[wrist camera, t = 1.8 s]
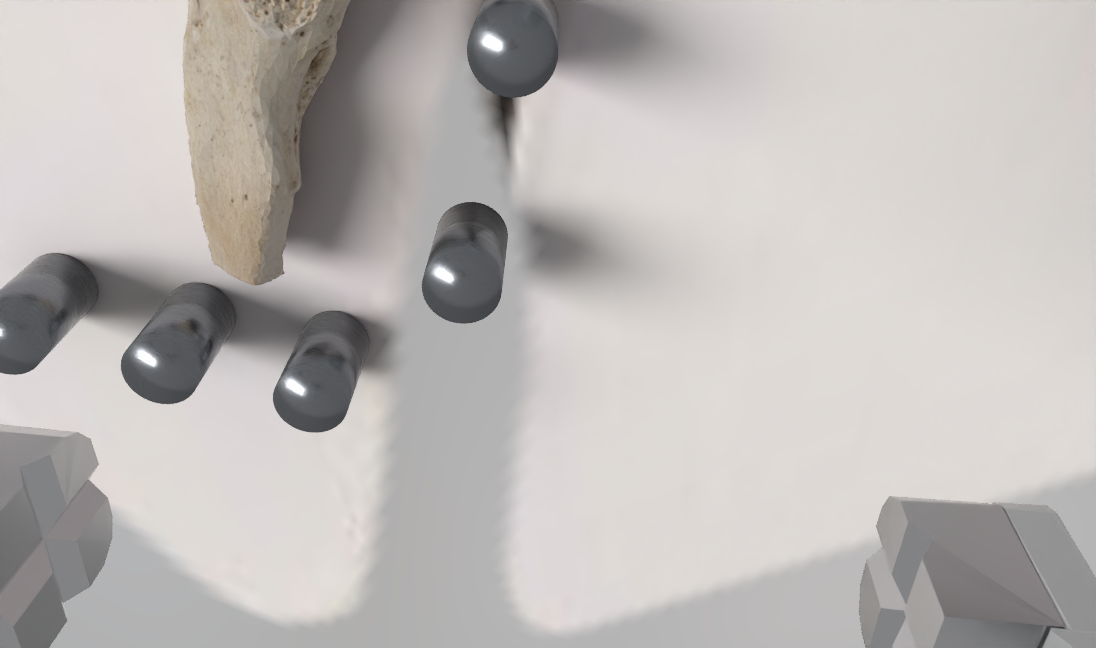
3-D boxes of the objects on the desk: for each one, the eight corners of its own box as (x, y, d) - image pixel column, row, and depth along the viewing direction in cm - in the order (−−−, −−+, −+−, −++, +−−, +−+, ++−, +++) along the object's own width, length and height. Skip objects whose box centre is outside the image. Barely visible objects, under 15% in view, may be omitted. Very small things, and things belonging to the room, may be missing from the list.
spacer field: (28, 306, 41) (-35, 366, 37) (-1, -374, 29) (-99, -406, 25) (470, 395, 43) (461, 461, 39) (612, -206, 31) (621, -208, 27)
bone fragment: (201, -121, 33) (153, -109, 29) (378, -64, 34) (355, -45, 30) (165, 217, 39) (122, 266, 35) (315, 256, 40) (289, 308, 36)
